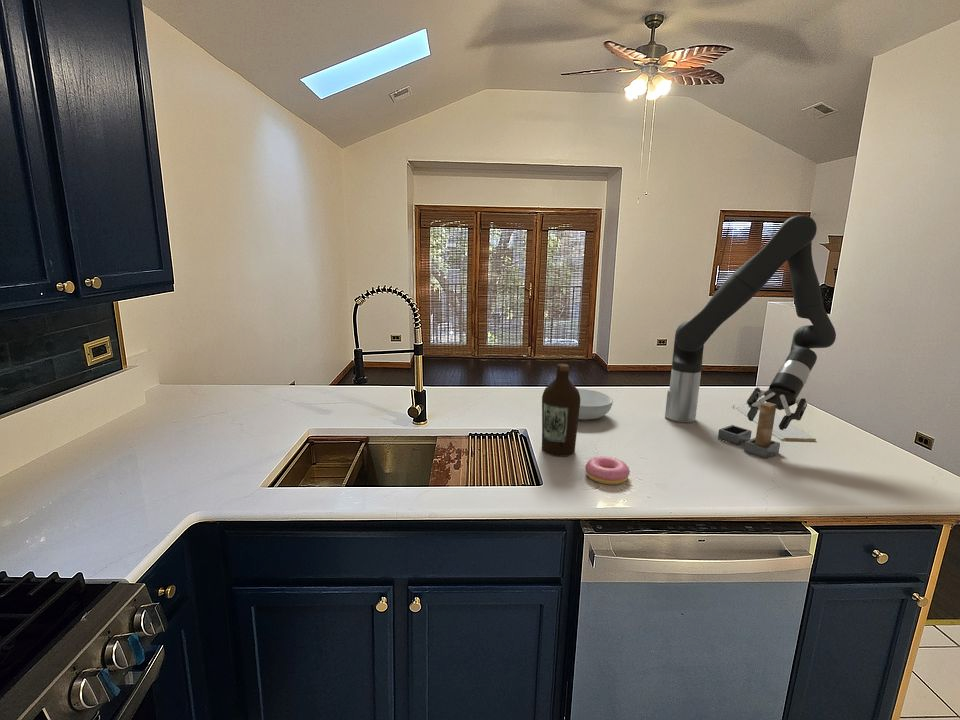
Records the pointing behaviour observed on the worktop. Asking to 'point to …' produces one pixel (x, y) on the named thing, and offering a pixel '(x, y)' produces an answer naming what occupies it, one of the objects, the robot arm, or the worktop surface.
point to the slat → (765, 424)
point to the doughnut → (607, 470)
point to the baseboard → (787, 434)
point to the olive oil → (560, 414)
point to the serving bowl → (593, 404)
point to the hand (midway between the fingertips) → (764, 424)
